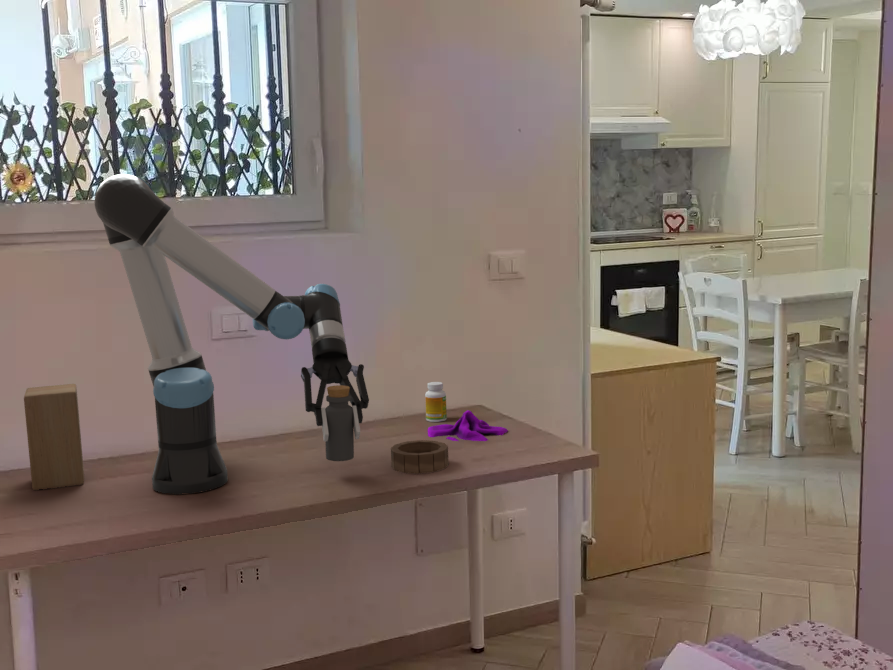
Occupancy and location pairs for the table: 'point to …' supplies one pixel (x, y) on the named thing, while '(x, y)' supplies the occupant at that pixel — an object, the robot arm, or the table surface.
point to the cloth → (466, 429)
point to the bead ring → (419, 456)
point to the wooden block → (54, 436)
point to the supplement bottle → (435, 402)
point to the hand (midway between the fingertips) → (342, 436)
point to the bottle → (339, 424)
